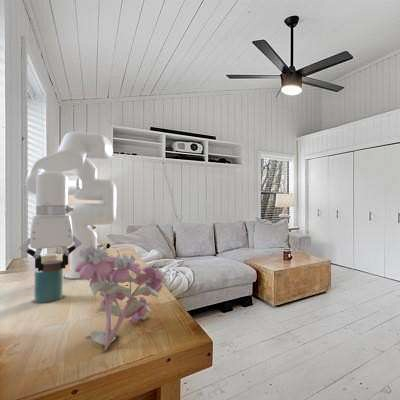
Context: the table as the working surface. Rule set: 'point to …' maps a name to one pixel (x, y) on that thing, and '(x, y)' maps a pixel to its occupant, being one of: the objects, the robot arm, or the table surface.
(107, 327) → the flower
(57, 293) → the bottle
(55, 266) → the brown round puck
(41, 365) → the table surface
